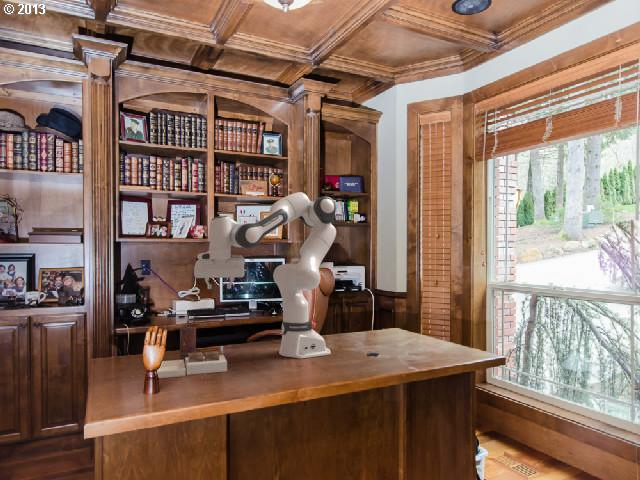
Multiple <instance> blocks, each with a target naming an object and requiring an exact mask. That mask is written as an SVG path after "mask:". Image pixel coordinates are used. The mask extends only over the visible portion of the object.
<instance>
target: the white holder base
mask: <svg viewBox="0 0 640 480" xmlns="http://www.w3.org/2000/svg"><path fill="white" fill-rule="evenodd" d="M184 364H185V369H186V373H185V375H187V376H188V375H199V374H211V373H213V374H214V373H222V372H223V373H224V372H228V361H227V359H226V357H225V355H224V354H219V360H214V361H205V355H203V361H201V362H189V360H188V357H187V358H185V363H184Z"/></svg>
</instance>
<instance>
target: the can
mask: <svg viewBox="0 0 640 480" xmlns="http://www.w3.org/2000/svg"><path fill="white" fill-rule="evenodd" d="M196 347H197V327H196V326H195V325H183V326H181V327H180V329H179V360H184V364H185V358H187V357H189V353H197V352H196V351H197V348H196Z"/></svg>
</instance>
